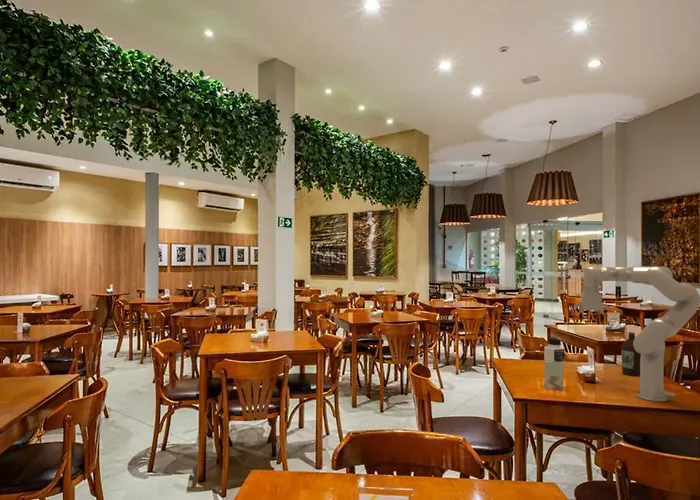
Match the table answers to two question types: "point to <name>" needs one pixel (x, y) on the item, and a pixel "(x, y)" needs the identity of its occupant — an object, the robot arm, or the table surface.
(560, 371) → the top block
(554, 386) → the bottom block
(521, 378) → the table surface
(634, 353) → the olive oil
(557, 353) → the medicine bottle
